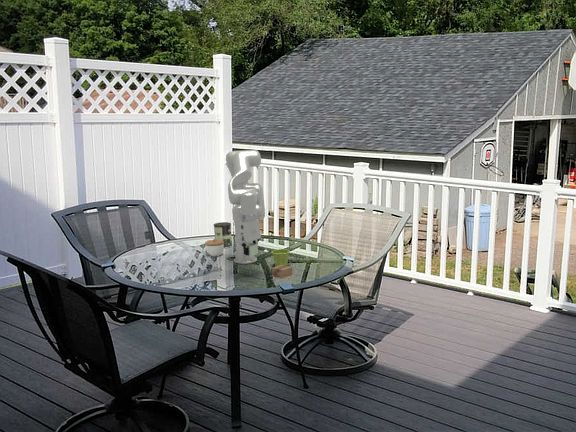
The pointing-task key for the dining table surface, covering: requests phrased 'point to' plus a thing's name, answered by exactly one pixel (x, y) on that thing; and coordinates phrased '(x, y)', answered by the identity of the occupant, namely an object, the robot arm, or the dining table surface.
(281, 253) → the plant pot
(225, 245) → the coffee can
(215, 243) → the lidded jar
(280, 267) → the walnut base block
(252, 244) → the sage cube
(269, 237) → the dining table surface
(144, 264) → the dining table surface
